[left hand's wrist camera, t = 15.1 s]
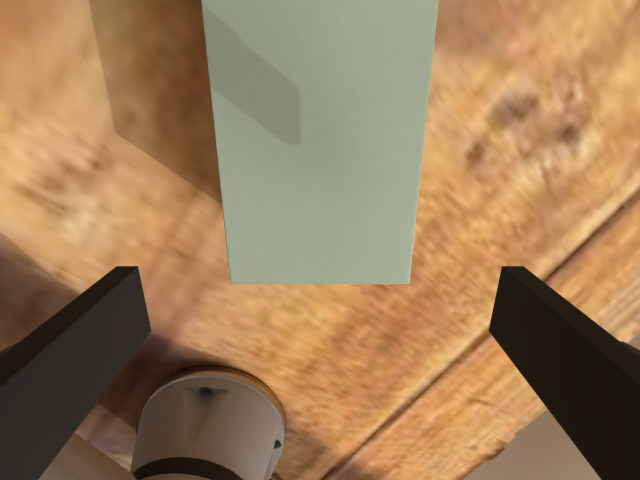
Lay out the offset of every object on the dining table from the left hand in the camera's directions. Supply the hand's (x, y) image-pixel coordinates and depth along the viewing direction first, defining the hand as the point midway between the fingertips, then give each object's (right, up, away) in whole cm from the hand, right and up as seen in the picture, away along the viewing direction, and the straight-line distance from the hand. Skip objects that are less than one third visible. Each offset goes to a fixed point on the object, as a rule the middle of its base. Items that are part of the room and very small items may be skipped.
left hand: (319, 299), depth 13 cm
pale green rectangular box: (0, +12, +14) cm, 18 cm away
